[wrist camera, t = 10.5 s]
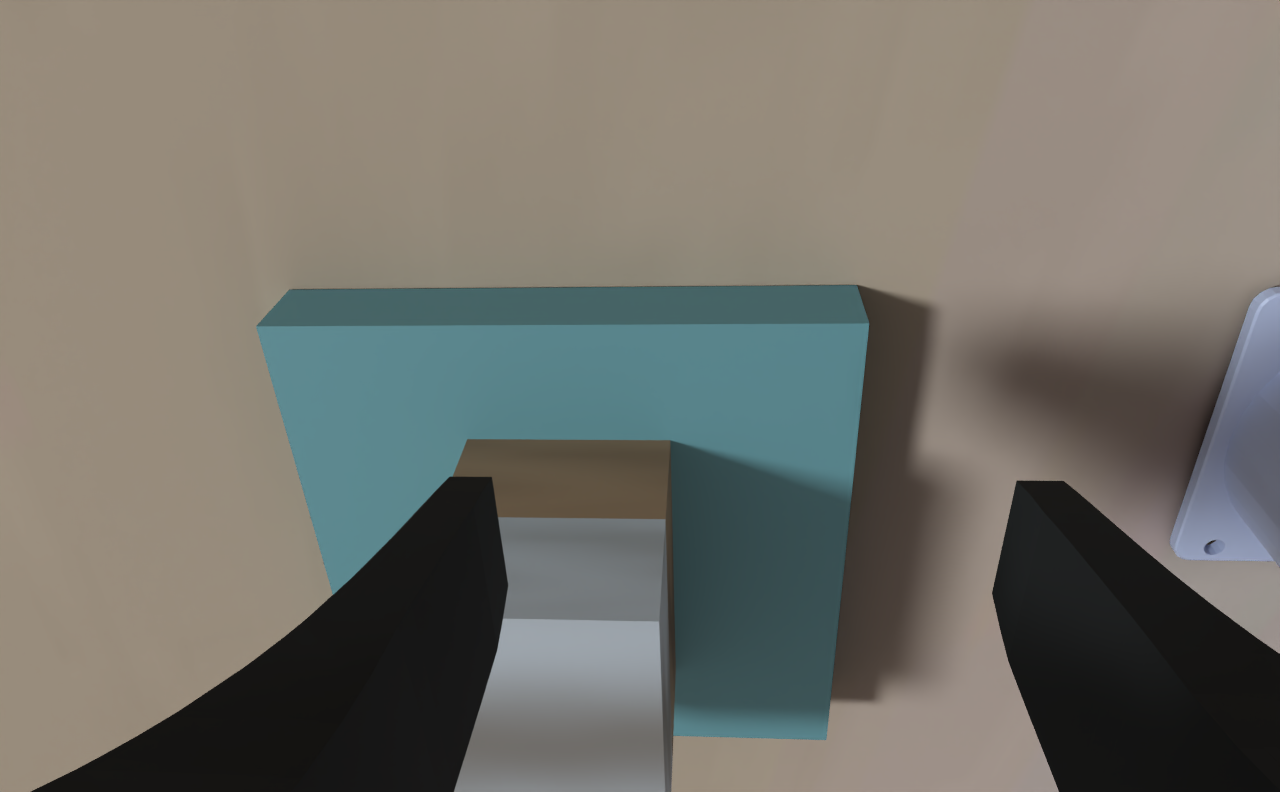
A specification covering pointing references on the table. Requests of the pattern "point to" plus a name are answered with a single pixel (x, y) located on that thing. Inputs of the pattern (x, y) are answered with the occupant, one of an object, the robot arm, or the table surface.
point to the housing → (579, 619)
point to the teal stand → (610, 410)
